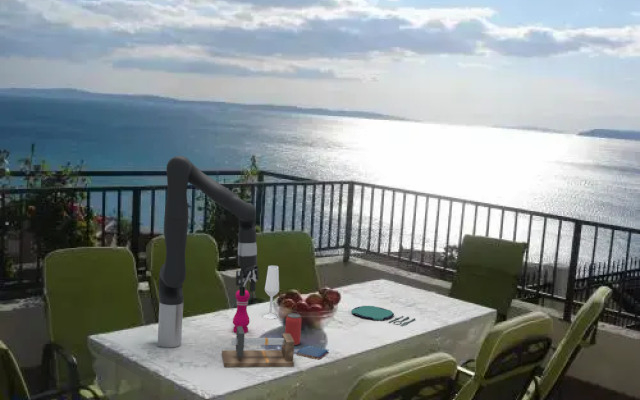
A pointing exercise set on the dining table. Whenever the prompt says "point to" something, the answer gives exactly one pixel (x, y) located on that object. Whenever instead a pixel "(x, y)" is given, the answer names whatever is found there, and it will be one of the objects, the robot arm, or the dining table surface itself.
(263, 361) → the base board
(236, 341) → the light grey beam
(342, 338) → the dining table surface
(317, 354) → the woven mat
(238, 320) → the pepper mill
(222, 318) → the dining table surface
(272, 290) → the champagne flute
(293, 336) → the beer can
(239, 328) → the dark grey block
